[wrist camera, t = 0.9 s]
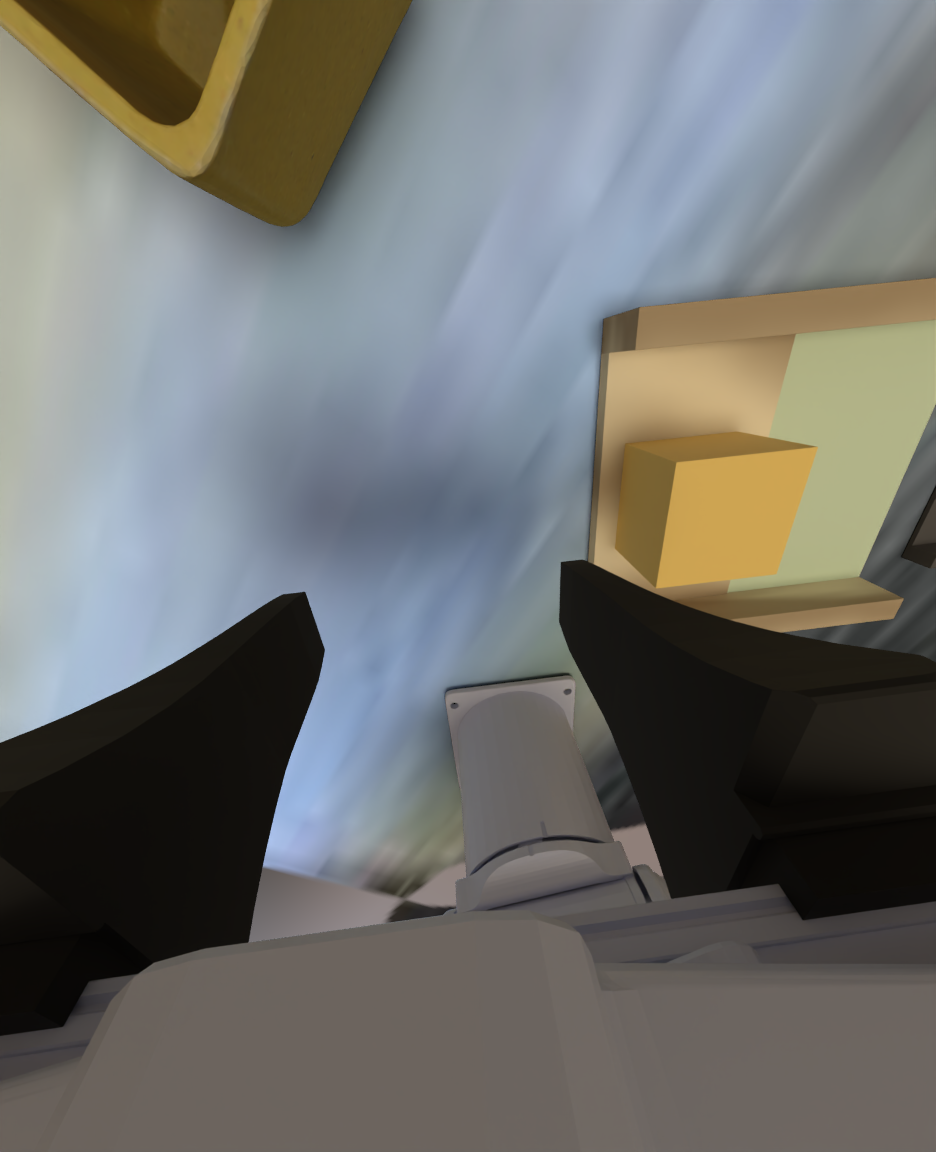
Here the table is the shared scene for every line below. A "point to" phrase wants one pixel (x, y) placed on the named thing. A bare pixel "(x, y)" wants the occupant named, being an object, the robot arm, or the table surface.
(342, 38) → the flower pot
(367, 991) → the robot arm
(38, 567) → the table surface
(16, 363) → the table surface
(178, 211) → the table surface
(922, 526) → the pit tray
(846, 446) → the pad
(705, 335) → the channel
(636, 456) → the block
